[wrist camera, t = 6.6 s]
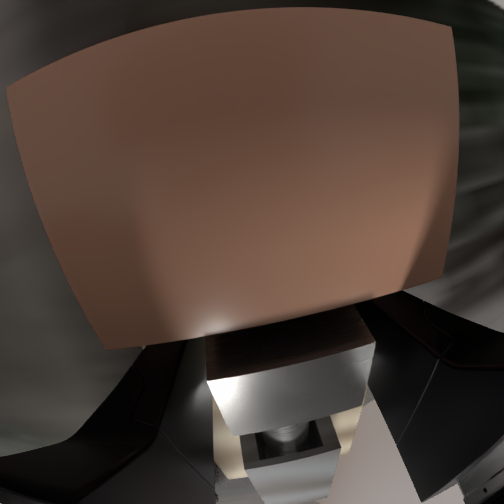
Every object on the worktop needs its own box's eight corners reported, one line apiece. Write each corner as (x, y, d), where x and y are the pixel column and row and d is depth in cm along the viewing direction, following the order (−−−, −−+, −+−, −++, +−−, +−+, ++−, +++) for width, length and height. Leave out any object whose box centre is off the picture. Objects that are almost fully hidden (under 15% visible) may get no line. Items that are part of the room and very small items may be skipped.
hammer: (308, 423, 17) (331, 499, 12) (258, 434, 17) (273, 512, 12) (284, 89, 8) (389, 91, 3) (174, 108, 8) (123, 128, 3)
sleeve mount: (345, 444, 23) (361, 488, 19) (227, 470, 23) (233, 517, 18) (380, 201, 12) (457, 263, 7) (110, 254, 11) (70, 345, 7)
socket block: (335, 184, 11) (441, 277, 6) (149, 219, 11) (106, 350, 5) (322, 52, 9) (451, 26, 3) (116, 86, 8) (5, 88, 3)
